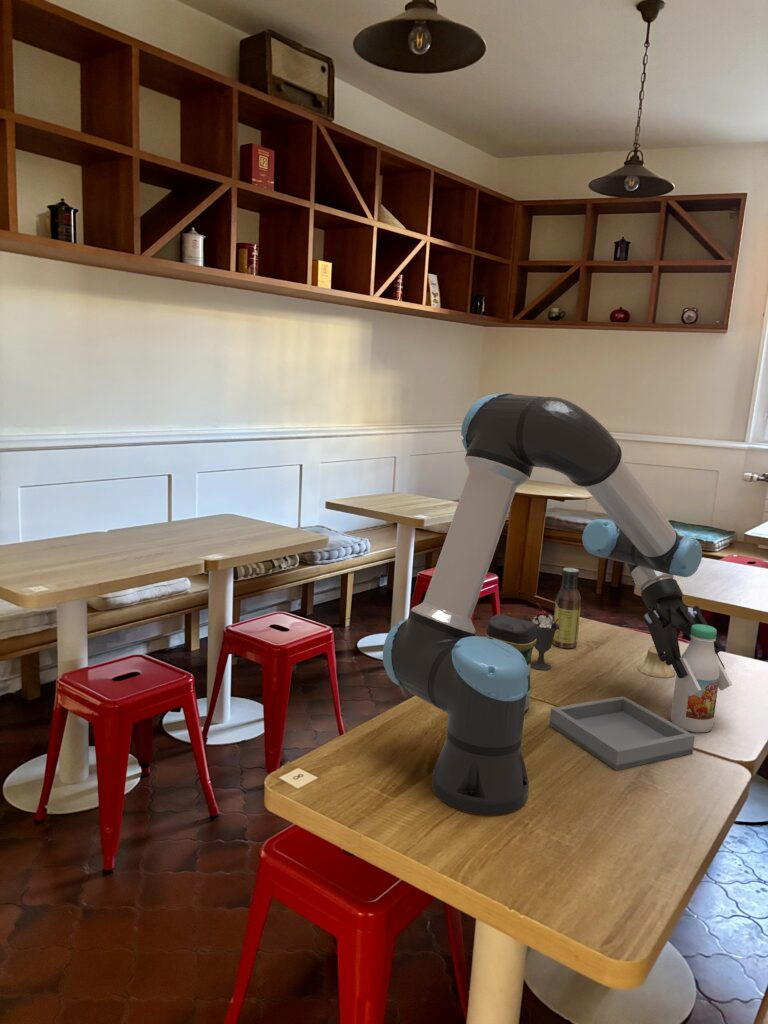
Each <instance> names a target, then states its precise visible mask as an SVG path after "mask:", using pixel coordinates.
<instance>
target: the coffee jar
mask: <svg viewBox="0 0 768 1024" xmlns="http://www.w3.org/2000/svg"><path fill="white" fill-rule="evenodd" d="M485 637H488V638H489V639H497V640H500V641H503V642H505V643H507V644H509V645H511V646H513V647H514V648H516V649H517V650H518V651H519V652H520V653H521V654H522V655H523V656H524V658H525V660H526V662H527V667H528V673H527V679H528V690H527V695H526V704H525V712H526V711H527V710H528V709H529V707H530V704H531V703H530V702H531V668H532V667H531V662H532V654H533V650H534V648H535V647H534V646H535V643H536V625H535V623H534V622H532V621H530V620H525V619H522V618H521V619H520V618H518V617H513V616H508V615H505V614H502V613H498V614H495V615H493V616H492V617H490V618H489V620H488V623H487V627H486V631H485Z"/></svg>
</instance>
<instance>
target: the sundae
mask: <svg viewBox="0 0 768 1024" xmlns="http://www.w3.org/2000/svg"><path fill="white" fill-rule="evenodd" d="M535 605H536V606H538V607H539V610H538V611H536V613H535V614H536V616H534V617H533V619H532V621H531V622H534V623H535V625H536V643H535V646H534V648H535V650H537V652H538V658H537V660H536V661H531V667H530V668H532V669H534V670H538V671H548V670H551V669H552V666H551V664H549V663H547V662H545V653H547V652H548V651H549V650H550V649H552V646H553V638H554V634H555V631H556V630H558V629H560V628H559V625H558V624H557V623H556V622H557V621H558V619H557V620H556V621H555V622H554V616H552V615H551V614H550V613H548V612H547V611H546V610H544V609H543V608H542V606H541V605H540V603H539V602H536V603H535ZM541 610H542V611H541Z"/></svg>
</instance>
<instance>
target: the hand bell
mask: <svg viewBox="0 0 768 1024" xmlns="http://www.w3.org/2000/svg"><path fill="white" fill-rule="evenodd" d="M664 653H665V652H664ZM665 662H666V661H664V662H662V661H661V660H660V659H659V656H658V653H657V651H656V648H655V645H653V646H650V647H648V649H647V653H646V656H645V659H644V660H643V661H642V662H640V663H639V664H638V665H637V667H636V668H637V671H639V672H640V673H641V674H642V675H645V676H649V677H652V678H658V679H670V678H673V677H675V676H676V672H675V670H674V668H673V667H672V665H669V666H668V665H667V664H666V663H665Z"/></svg>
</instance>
